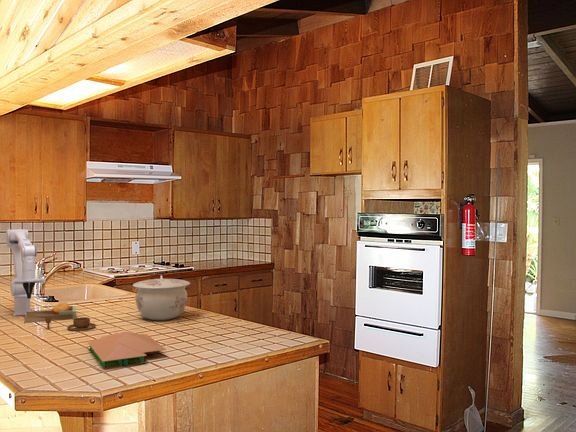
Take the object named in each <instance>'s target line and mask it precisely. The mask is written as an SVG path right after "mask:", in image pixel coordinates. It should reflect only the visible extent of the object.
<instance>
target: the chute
mask: <svg viewBox="0 0 576 432" xmlns="http://www.w3.org/2000/svg"><path fill="white" fill-rule="evenodd" d="M69 307H70V311H59V314H57V315H54V314H53V311H52V309H51V310H50V309H49V310H48V309H47V310H37V311H35V310H34V311H33V310H32V312H26V315H25V316H24V317H23V322H24V323H25V324H26V323H27V324H28V323H38V322H39V323H40V322H45V317H49V316H50V317H51V322H52V321H54V322H55V321H65V320H73V319H75V318H77V306H73V305H69Z"/></svg>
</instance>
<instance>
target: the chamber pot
mask: <svg viewBox="0 0 576 432" xmlns="http://www.w3.org/2000/svg"><path fill="white" fill-rule="evenodd" d="M190 285H191V282H190V281H188V280H184V279H178V278H163V275H160V278H152V279H145V280H141V281H138V282H134V283H133V284H132V287H133V288H135V289H137V291H136V294H135V304H136V308H137V310H138V311H139V313H140V315H141V316H142V317H143V318H144V319H147V320H149V321H158V322H159V321H170V320H174V319H176V318H178V317H179V316H181V314H182V313H183V312H184V310H185V308H186V306H187V301H188V291H187V290H186V287H188V286H190Z"/></svg>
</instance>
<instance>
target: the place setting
mask: <svg viewBox="0 0 576 432" xmlns="http://www.w3.org/2000/svg"><path fill="white" fill-rule="evenodd" d="M44 322H45V323H46V324H47V325H46V328H47V330H50V323H52V321H51V317H50V316H49V317H45V321H44ZM72 323H73V324H69V325H68V326H67V328H66V329H67V330H68V331H69V332H87V331H91V330H94V329H95V328H96V327H97V326H99V324H96V323H92V322H91V319H90V317H87V316H86V317H76V318H75V319H72ZM55 332H58V330H55Z"/></svg>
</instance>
